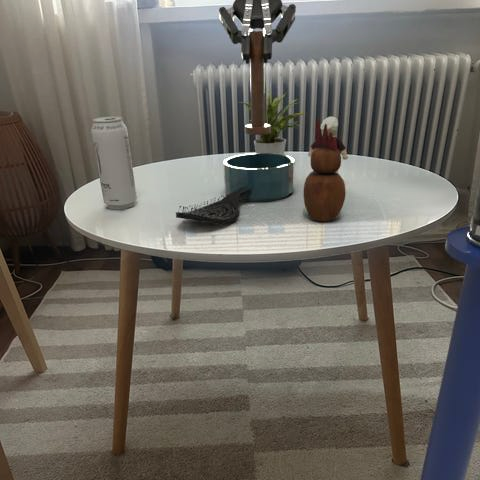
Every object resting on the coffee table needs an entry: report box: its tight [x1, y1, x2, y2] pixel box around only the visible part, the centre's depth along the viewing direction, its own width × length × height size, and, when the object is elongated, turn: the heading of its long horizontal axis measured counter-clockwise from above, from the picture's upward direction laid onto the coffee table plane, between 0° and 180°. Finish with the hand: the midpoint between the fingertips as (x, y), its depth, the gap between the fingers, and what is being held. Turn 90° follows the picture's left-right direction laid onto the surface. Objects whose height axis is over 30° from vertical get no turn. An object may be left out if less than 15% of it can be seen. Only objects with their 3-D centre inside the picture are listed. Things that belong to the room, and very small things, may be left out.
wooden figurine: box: [302, 119, 346, 222], centre depth 77 cm, size 7×6×15 cm
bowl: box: [222, 152, 295, 203], centre depth 94 cm, size 13×13×6 cm
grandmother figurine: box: [307, 115, 349, 174], centre depth 95 cm, size 8×4×13 cm, turn 80°
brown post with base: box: [244, 30, 271, 136], centre depth 86 cm, size 5×5×16 cm
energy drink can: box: [90, 116, 138, 211], centre depth 87 cm, size 6×6×15 cm
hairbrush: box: [175, 188, 251, 226], centre depth 85 cm, size 8×4×25 cm
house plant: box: [239, 89, 307, 155], centre depth 106 cm, size 14×14×16 cm
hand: (256, 59), depth 82 cm, fingers closed on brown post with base, 2 cm apart
